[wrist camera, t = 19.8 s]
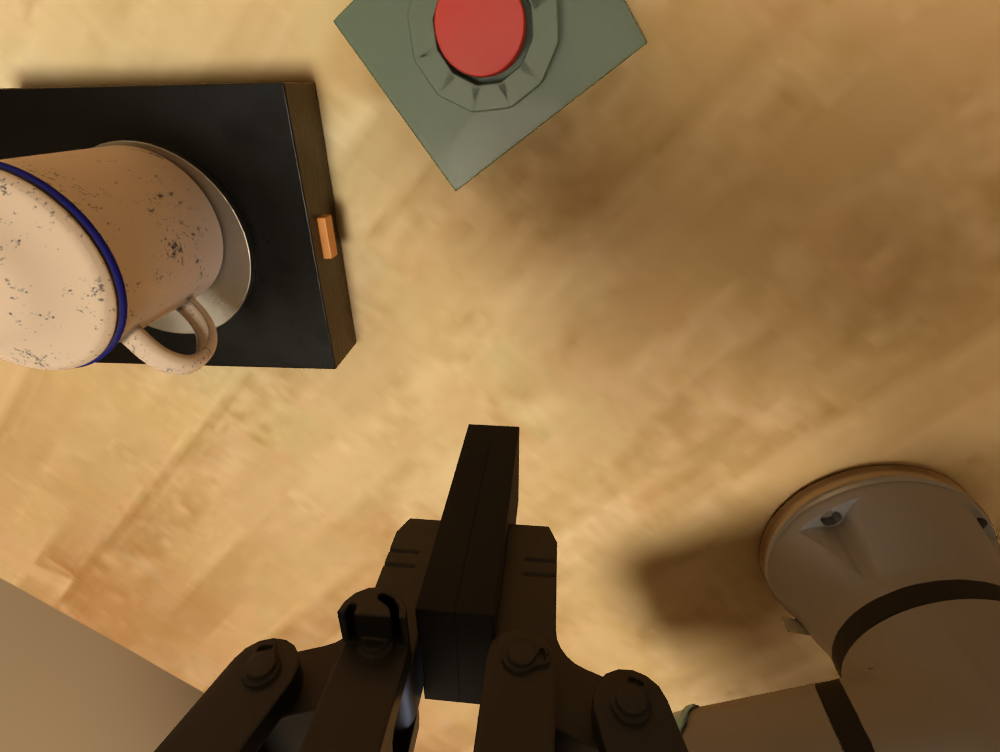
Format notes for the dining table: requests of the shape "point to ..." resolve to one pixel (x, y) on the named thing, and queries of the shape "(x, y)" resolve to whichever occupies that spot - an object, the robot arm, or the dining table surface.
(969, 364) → the dining table surface
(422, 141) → the box
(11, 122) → the cup warmer
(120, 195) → the teacup with lid
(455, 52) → the button
